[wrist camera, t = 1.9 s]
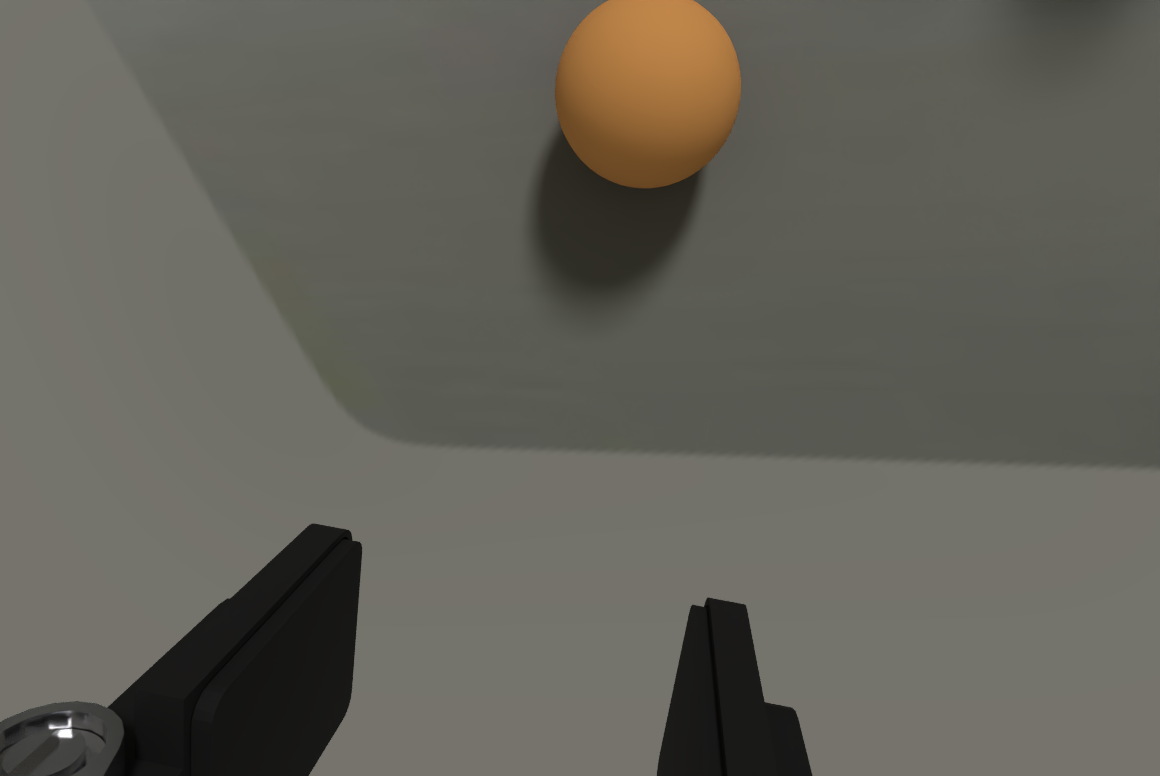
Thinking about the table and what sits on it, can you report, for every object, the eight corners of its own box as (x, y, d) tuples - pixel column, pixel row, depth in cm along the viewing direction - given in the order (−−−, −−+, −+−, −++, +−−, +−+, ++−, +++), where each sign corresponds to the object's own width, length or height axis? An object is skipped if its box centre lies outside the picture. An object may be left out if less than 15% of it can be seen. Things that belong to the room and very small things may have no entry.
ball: (748, 25, 24) (770, -21, 19) (715, 199, 26) (727, 202, 20) (580, 2, 25) (556, -49, 19) (557, 176, 26) (529, 172, 21)
